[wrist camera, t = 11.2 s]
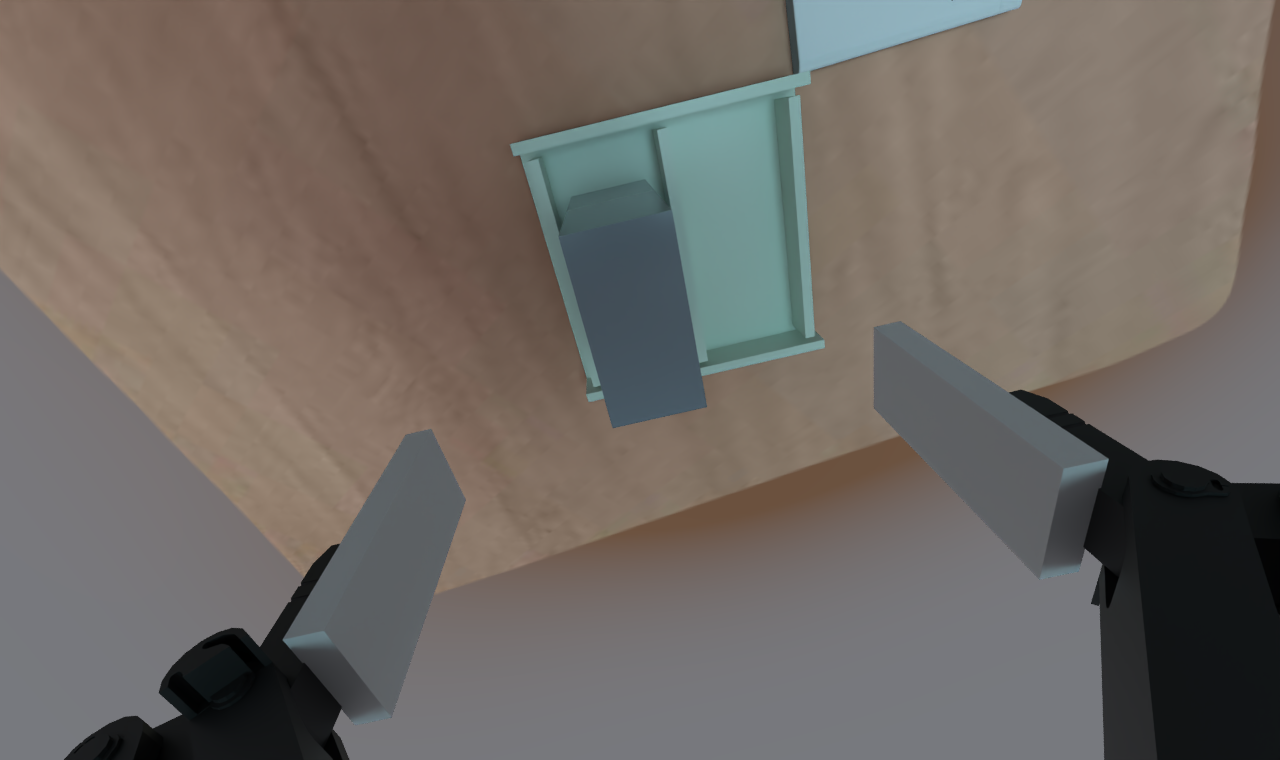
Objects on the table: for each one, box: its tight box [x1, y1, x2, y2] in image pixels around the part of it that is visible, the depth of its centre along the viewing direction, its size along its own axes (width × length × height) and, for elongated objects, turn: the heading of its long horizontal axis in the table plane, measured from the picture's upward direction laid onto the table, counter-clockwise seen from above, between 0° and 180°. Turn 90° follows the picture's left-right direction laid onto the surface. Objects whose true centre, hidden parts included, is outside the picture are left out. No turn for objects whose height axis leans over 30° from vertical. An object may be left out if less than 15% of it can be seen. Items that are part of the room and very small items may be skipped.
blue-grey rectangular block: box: [558, 179, 707, 428], centre depth 27 cm, size 9×4×12 cm, turn 12°
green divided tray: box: [510, 71, 825, 402], centre depth 32 cm, size 16×16×3 cm
